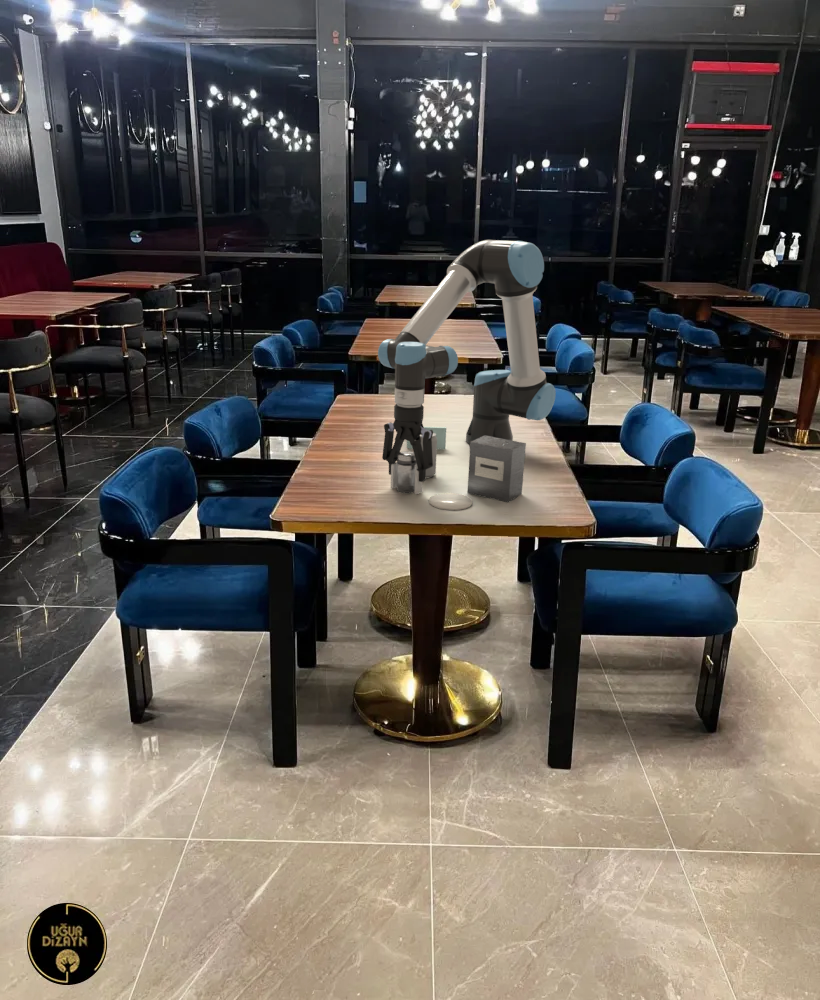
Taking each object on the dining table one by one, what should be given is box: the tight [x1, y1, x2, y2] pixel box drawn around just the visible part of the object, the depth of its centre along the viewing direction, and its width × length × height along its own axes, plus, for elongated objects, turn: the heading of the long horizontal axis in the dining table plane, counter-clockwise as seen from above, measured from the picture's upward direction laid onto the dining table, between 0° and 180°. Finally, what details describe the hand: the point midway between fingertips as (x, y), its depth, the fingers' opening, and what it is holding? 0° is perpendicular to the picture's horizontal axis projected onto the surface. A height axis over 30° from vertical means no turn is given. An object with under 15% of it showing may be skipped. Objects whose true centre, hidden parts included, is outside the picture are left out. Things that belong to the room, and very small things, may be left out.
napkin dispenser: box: [466, 435, 527, 503], centre depth 203 cm, size 8×12×14 cm
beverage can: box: [416, 433, 438, 479], centre depth 217 cm, size 6×6×12 cm
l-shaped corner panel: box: [406, 426, 447, 450], centre depth 248 cm, size 12×12×8 cm
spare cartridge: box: [396, 450, 417, 494], centre depth 205 cm, size 5×5×10 cm
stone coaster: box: [428, 492, 473, 511], centre depth 199 cm, size 11×11×1 cm
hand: (406, 489), depth 206 cm, fingers open, 7 cm apart
